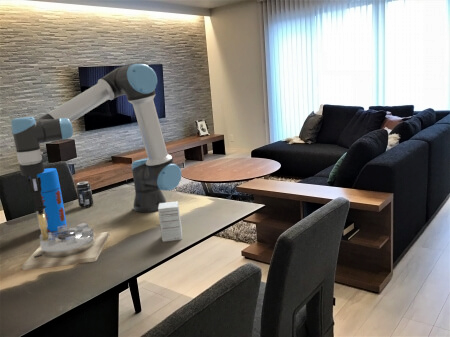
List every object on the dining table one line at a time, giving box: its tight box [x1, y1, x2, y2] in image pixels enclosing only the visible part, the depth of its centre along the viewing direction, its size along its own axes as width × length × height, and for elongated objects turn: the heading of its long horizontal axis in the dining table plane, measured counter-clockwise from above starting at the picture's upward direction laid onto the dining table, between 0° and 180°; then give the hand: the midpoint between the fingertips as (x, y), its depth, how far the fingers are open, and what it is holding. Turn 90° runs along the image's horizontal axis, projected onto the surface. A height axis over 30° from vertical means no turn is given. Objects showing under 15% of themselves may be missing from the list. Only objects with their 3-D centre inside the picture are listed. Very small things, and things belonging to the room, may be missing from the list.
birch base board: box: [21, 231, 110, 271], centre depth 151 cm, size 24×24×2 cm
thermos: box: [37, 167, 68, 233], centre depth 177 cm, size 11×11×25 cm
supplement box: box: [157, 200, 183, 242], centre depth 154 cm, size 7×7×13 cm
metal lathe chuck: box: [37, 213, 95, 257], centre depth 150 cm, size 18×18×14 cm
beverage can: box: [75, 180, 94, 209], centre depth 207 cm, size 7×7×12 cm
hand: (43, 227), depth 149 cm, fingers closed
